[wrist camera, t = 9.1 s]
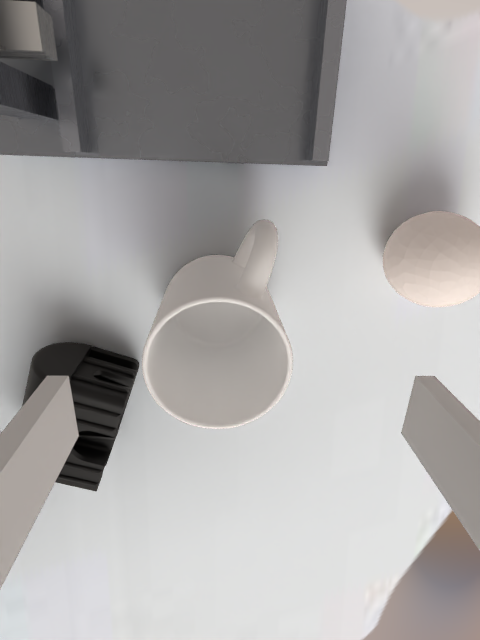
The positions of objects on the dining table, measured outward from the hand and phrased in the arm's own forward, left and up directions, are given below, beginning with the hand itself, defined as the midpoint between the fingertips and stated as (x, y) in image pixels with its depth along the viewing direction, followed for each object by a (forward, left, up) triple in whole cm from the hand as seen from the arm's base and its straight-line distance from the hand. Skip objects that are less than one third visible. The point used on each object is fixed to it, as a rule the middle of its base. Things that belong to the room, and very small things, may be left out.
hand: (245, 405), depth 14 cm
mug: (0, 0, -16) cm, 16 cm away
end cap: (-12, -10, -17) cm, 23 cm away
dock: (-4, +14, -16) cm, 22 cm away
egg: (+14, +3, -16) cm, 22 cm away
